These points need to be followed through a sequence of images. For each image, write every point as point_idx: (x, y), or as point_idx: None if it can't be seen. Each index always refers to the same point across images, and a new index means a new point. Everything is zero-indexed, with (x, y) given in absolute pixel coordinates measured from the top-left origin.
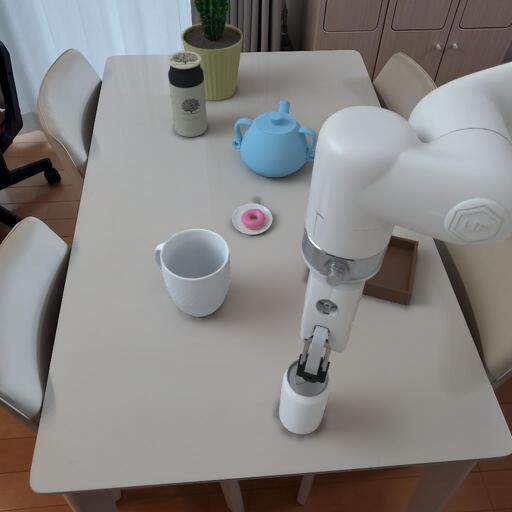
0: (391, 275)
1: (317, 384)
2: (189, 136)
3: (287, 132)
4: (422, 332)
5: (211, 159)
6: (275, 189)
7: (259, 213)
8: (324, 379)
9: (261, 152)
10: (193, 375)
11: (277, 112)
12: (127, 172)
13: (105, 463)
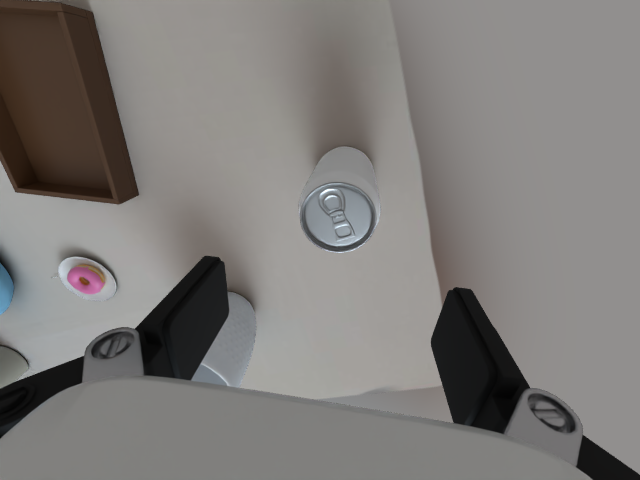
0: (47, 52)
1: (347, 200)
2: (22, 358)
3: None
4: None
5: (36, 332)
6: (21, 258)
7: (73, 277)
8: (477, 303)
9: None
10: (323, 298)
11: None
12: None
13: (429, 346)
